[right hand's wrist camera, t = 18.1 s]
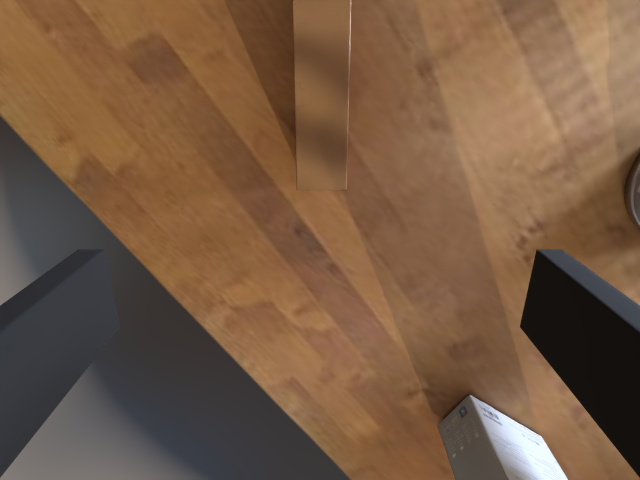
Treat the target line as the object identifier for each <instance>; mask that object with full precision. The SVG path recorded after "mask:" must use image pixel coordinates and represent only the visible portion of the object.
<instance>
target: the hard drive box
mask: <svg viewBox="0 0 640 480" xmlns="http://www.w3.org/2000/svg"><path fill="white" fill-rule="evenodd" d="M438 428H439V432H440V435H441V438H442V440H443V443H444V446H445V449H446V452H447V455H448V458H449V461H450V464H451V467H452V470H453V473H454V476H455V479H456V480H568V479H567V477H566V475H565V474H564V472H563V471H562V469H561V467H560V466H559V464H558V462H557V461H556V459H555V457H554V456H553V454H552V453H551V451H550V449H549V448H548V446H547V445H546V443H545V441H544V440H543V438H542V437H541V436H539V435H538V434H536V433H534V432H532V431H531V430H529V429H528V428H526V427H524V426H523V425H521V424H519V423H517V422H516V421H514V420H512V419H511V418H509V417H507V416H505V415H504V414H502V413H500V412H499V411H497V410H495V409H494V408H492V407H491V406H489V405H487V404H485V403H484V402H482V401H480V400H478V399H476V398H475V397H473V396H471V395H470V396H467V397H466V398H465V399H464V400H463V401H462V402H461V403H460V404H459V405H458V406H457V407H456V408H455V409H454V410H453V411H452V412H451V413H450V414H449V415H448V416H447V417H446V418H444V419H443V420H442V421H441V422H440V423H439V424H438Z"/></svg>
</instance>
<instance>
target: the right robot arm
mask: <svg viewBox="0 0 640 480" xmlns="http://www.w3.org/2000/svg"><path fill="white" fill-rule="evenodd" d="M625 202H626V208H627V211H628V214H629V216H630V218H631V220H632V221H633V222H634V224H635V225H636V226H637V227H638V228H639V229H640V154H639V156H638V158H637V159H636V161H635V162H634V164H633V166H632V168H631V171H630V173H629V176H628V179H627V183H626V189H625ZM119 328H120V325H119V320H118V315H117V310H116V306H115V301H114V297H113V292H112V287H111V283H110V278H109V273H108V269H107V264H106V259H105V255H104V250H77V251H76V252H74V253H73V254H71V255H70V256H69V257H67V258H66V259H64V260H63V261H62V262H60V263H59V264H58V265H56V266H55V267H53V268H52V269H51V270H49V271H48V272H46V273H45V274H44V275H42V276H41V277H40V278H38V279H37V280H35V281H34V282H33V283H31V284H30V285H28V286H27V287H26V288H24V289H23V290H21V291H20V292H19V293H17V294H16V295H15V296H13V297H12V298H10V299H9V300H8V301H6V302H5V303H3V304H2V305H1V306H0V477H1V476H2V475H3V473H4V472H5V471H6V470H7V468H8V467H9V466H10V465H11V463H12V462H13V461H14V460H15V458H16V457H17V456H18V455H19V453H20V452H21V451H22V450H23V448H24V447H25V446H26V445H27V443H28V442H29V441H30V439H31V438H32V437H33V436H34V434H35V433H36V432H37V431H38V429H39V428H40V427H41V426H42V424H43V423H44V422H45V421H46V419H47V418H48V417H49V416H50V414H51V413H52V412H53V411H54V409H55V408H56V407H57V406H58V404H59V403H60V402H61V400H62V399H63V398H64V397H65V395H66V394H67V393H68V392H69V390H70V389H71V388H72V387H73V385H74V384H75V383H76V382H77V380H78V379H79V378H80V377H81V375H82V374H83V373H84V372H85V370H86V369H87V368H88V367H89V365H90V364H91V363H92V361H93V360H94V359H95V358H96V356H97V355H98V354H99V353H100V351H101V350H102V349H103V348H104V346H105V345H106V344H107V343H108V341H109V340H110V339H111V338H112V336H113V335H114V334H115V333H116V331H117V330H118V329H119ZM520 328H521V329H522V330H523V331H524V333H525V334H526V335H527V336H528V338H529V339H530V340H531V341H532V343H533V344H534V345H535V346H536V348H537V349H538V350H539V351H540V353H541V354H542V355H543V356H544V358H545V359H546V360H547V361H548V363H549V364H550V365H551V367H552V368H553V369H554V370H555V372H556V373H557V374H558V375H559V377H560V378H561V379H562V380H563V382H564V383H565V384H566V385H567V387H568V388H569V389H570V390H571V392H572V393H573V394H574V395H575V397H576V398H577V399H578V400H579V402H580V403H581V404H582V406H583V407H584V408H585V409H586V411H587V412H588V413H589V414H590V416H591V417H592V418H593V419H594V421H595V422H596V423H597V424H598V426H599V427H600V428H601V429H602V431H603V432H604V433H605V434H606V436H607V437H608V438H609V439H610V441H611V442H612V443H613V445H614V446H615V447H616V448H617V450H618V451H619V452H620V453H621V455H622V456H623V457H624V458H625V460H626V461H627V462H628V463H629V465H630V466H631V467H632V468H633V470H634V471H635V472H636V473H637V475H638V476H639V477H640V306H639V305H638V304H637V303H635V302H634V301H632V300H631V299H630V298H628V297H627V296H625V295H624V294H623V293H621V292H620V291H619V290H617V289H616V288H614V287H613V286H612V285H610V284H609V283H607V282H606V281H605V280H603V279H602V278H601V277H599V276H598V275H596V274H595V273H594V272H592V271H591V270H589V269H588V268H587V267H585V266H584V265H582V264H581V263H580V262H578V261H577V260H576V259H574V258H573V257H571V256H570V255H569V254H567V253H566V252H564V251H563V250H536V255H535V259H534V264H533V269H532V273H531V278H530V283H529V287H528V292H527V297H526V301H525V306H524V310H523V315H522V320H521V324H520Z"/></svg>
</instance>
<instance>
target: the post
mask: <svg viewBox="0 0 640 480" xmlns="http://www.w3.org/2000/svg"><path fill="white" fill-rule="evenodd" d="M350 32H351V0H293V45H294V91H295V136H296V181H297V190H347V154H348V114H349V73H350Z"/></svg>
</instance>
